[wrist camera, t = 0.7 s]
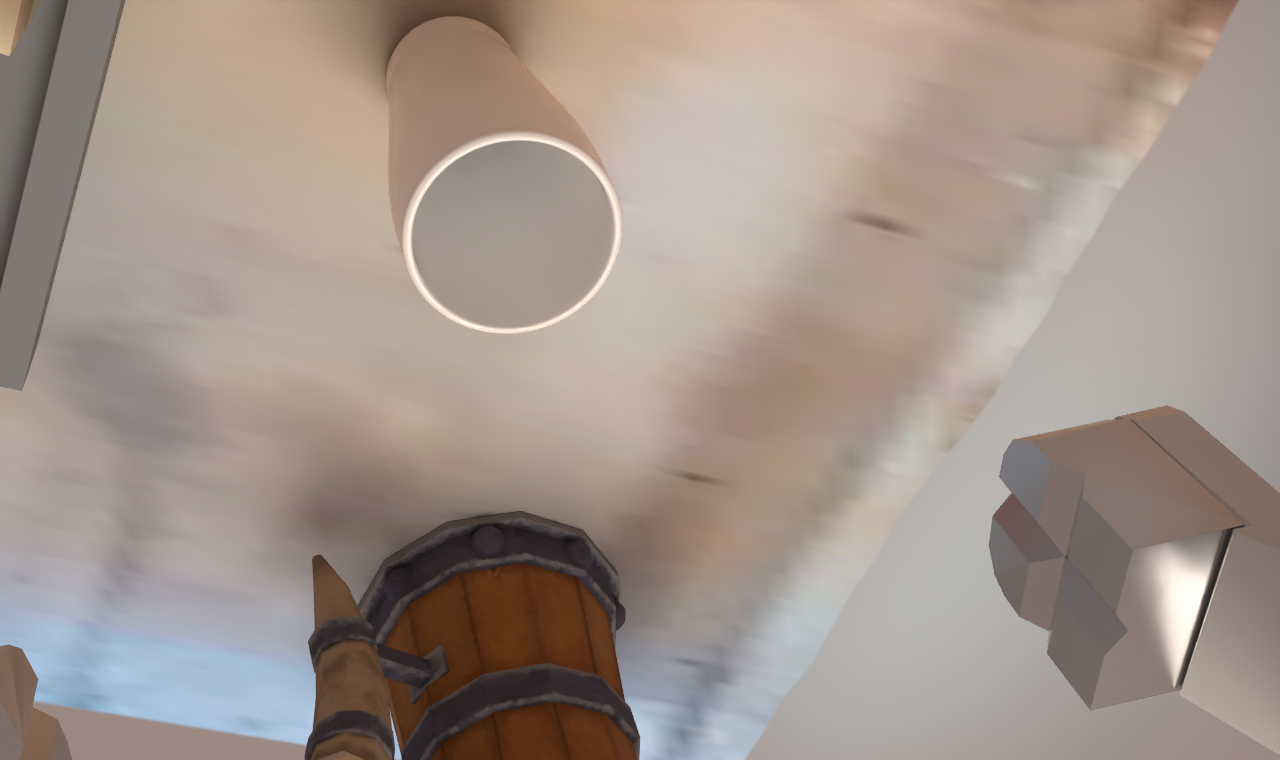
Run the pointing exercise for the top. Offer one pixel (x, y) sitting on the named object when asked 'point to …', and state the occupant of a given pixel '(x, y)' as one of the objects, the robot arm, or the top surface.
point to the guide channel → (44, 158)
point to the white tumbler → (493, 183)
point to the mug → (474, 650)
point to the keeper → (14, 22)
